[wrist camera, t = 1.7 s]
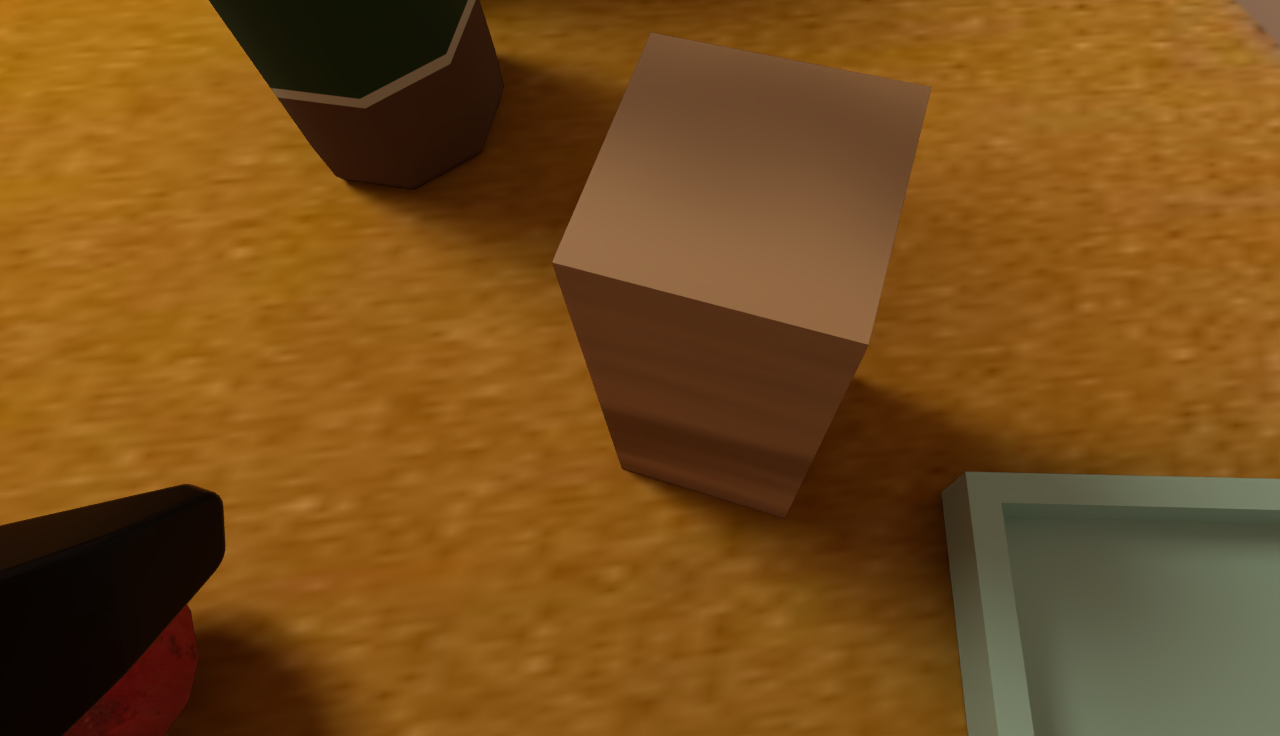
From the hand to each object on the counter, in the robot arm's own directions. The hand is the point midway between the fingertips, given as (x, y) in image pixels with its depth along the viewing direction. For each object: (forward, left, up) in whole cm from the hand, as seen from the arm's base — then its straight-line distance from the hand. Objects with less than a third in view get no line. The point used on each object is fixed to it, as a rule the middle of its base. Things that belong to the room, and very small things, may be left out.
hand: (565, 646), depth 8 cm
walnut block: (+8, -2, -13) cm, 16 cm away
